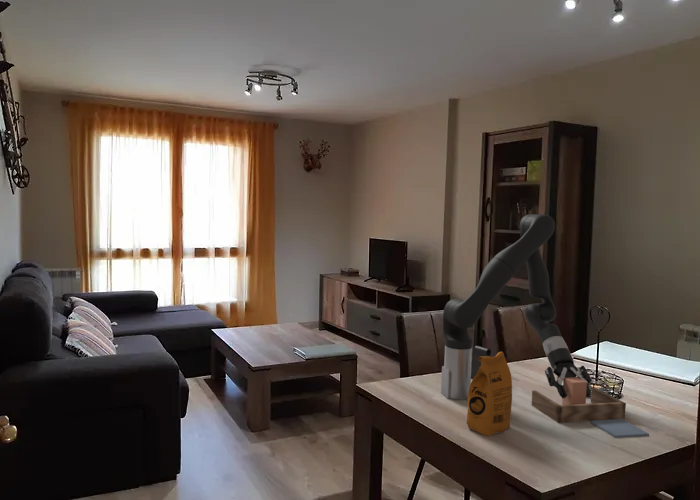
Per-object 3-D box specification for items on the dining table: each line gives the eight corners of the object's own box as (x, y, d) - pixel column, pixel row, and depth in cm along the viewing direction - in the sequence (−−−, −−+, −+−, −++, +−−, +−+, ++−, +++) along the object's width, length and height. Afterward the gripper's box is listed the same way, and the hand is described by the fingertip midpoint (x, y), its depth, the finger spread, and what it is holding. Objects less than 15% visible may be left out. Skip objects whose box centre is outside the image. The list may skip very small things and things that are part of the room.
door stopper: (483, 373, 206) (484, 344, 205) (495, 378, 201) (496, 347, 200) (467, 377, 201) (468, 346, 200) (479, 381, 196) (480, 350, 195)
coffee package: (460, 426, 153) (463, 353, 151) (488, 418, 160) (491, 347, 159) (487, 439, 145) (491, 361, 143) (515, 429, 152) (519, 355, 150)
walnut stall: (557, 422, 158) (558, 406, 157) (531, 405, 172) (532, 390, 172) (624, 418, 162) (625, 403, 162) (593, 402, 177) (594, 387, 176)
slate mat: (615, 437, 148) (615, 435, 148) (590, 422, 158) (590, 420, 158) (648, 435, 150) (648, 433, 150) (621, 420, 161) (621, 418, 161)
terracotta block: (571, 413, 166) (572, 382, 165) (561, 407, 171) (563, 377, 170) (585, 412, 167) (586, 382, 166) (575, 406, 172) (577, 377, 171)
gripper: (543, 347, 174) (562, 392, 163) (581, 346, 177) (602, 390, 166) (534, 358, 179) (551, 402, 169) (570, 357, 182) (590, 400, 172)
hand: (576, 396), depth 167 cm, fingers open, 8 cm apart
